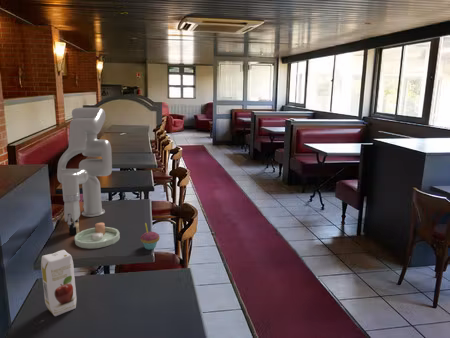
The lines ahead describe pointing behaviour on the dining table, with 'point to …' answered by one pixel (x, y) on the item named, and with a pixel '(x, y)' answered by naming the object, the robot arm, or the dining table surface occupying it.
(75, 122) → the robot arm
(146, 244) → the cupcake
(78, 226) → the maple bead
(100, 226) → the terracotta bead
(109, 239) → the groove tray
